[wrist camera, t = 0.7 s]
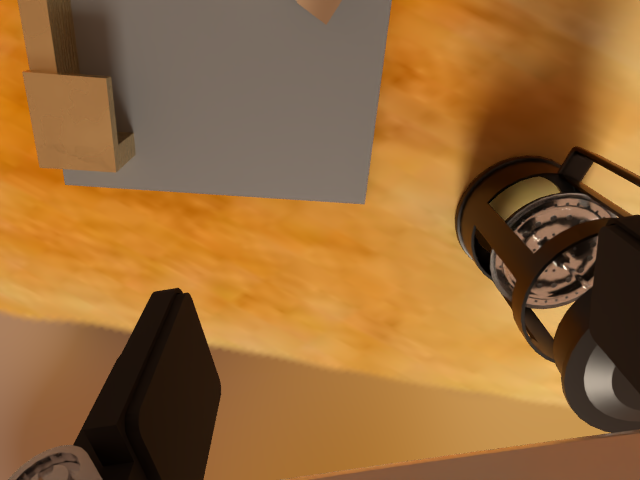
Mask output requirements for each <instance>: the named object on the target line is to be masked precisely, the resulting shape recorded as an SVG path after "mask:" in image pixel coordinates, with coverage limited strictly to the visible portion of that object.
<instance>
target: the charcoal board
mask: <svg viewBox="0 0 640 480" xmlns="http://www.w3.org/2000/svg"><path fill="white" fill-rule="evenodd" d="M391 1H392V0H342V1H341V3H340V4H339V6H338V7H337V9H336V11H335V12H334V14H333V15H332V17H331V18H330V20H329V22H328V23H327V25H326V24H324V23H323V22H322V21H320V20H319V19H318V18H316V17H315V16H314V15H312V14H311V13H310V12H308V11H307V10H306V9H305V8H303V7H302V6H301V5H299V4H298V3H297V1H296V0H71V8H72V15H73V23H74V31H75V38H76V46H77V54H78V61H79V69H80V74H87V75H100V76H111V80H112V89H113V99H114V109H115V118H116V128H117V132H128V133H134V142H135V153H136V155H135V156H134V157H133V158H132V159H131V160H129V161H128V162H127V163H126V164H125V165H124V166H123V167H122V168H121V169H120V170H119V171H117V172H116V173H114V172H99V171H84V170H70V169H63V174H64V180H65V185H78V186H93V187H108V188H124V189H139V190H154V191H170V192H185V193H200V194H216V195H231V196H246V197H262V198H277V199H292V200H308V201H323V202H339V203H354V204H365V197H366V190H367V182H368V175H369V167H370V159H371V152H372V144H373V137H374V129H375V122H376V114H377V107H378V99H379V92H380V84H381V76H382V69H383V61H384V54H385V46H386V39H387V31H388V24H389V16H390V9H391Z"/></svg>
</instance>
